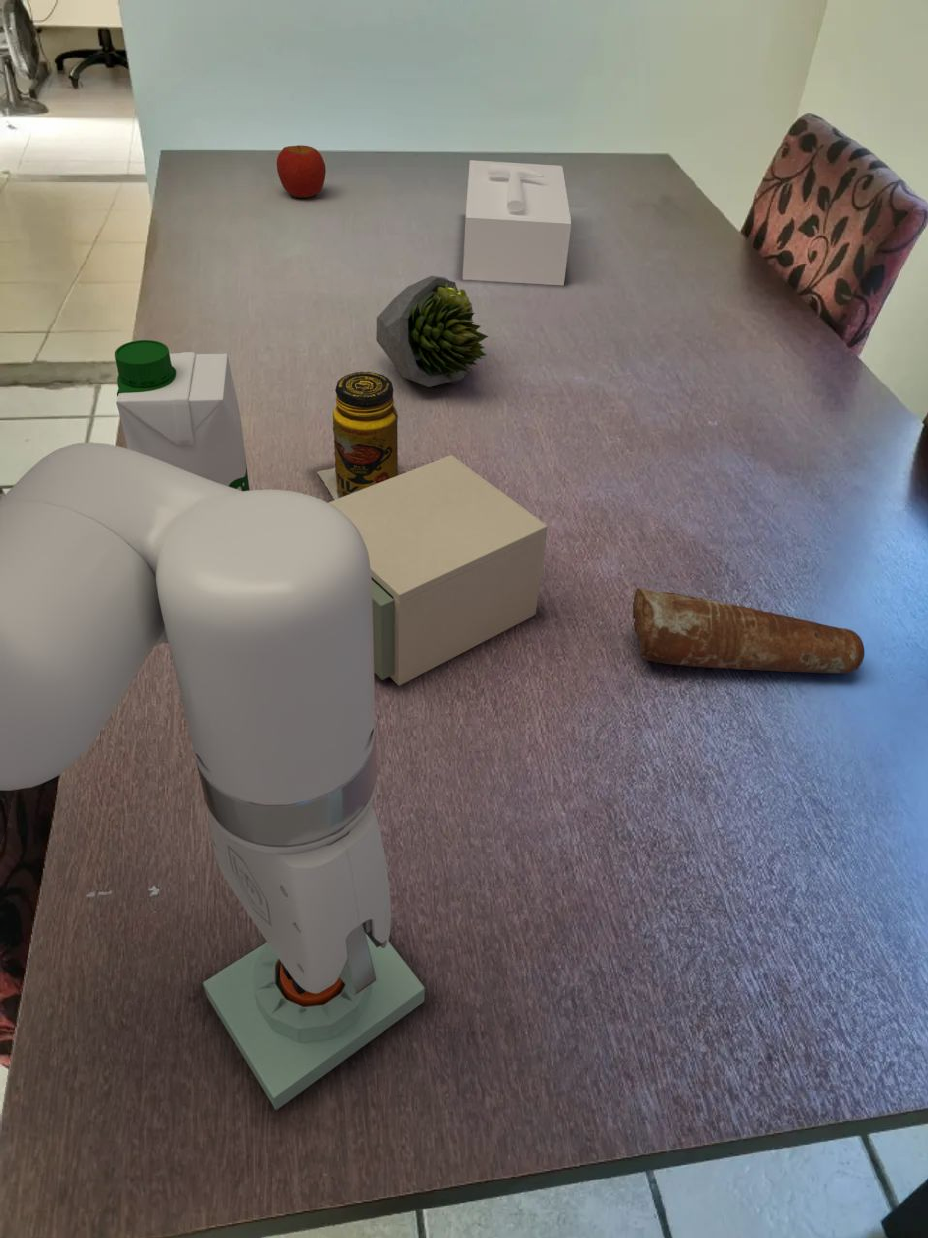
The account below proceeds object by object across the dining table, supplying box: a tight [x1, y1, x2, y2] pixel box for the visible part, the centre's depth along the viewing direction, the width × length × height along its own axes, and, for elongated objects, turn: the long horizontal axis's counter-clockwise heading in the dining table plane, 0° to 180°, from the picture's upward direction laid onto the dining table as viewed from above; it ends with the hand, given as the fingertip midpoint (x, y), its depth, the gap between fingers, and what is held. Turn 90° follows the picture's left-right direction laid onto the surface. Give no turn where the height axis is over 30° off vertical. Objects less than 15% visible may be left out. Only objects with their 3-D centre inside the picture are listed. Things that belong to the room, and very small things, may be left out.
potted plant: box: [376, 275, 490, 388], centre depth 108 cm, size 12×13×15 cm
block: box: [202, 934, 426, 1111], centre depth 54 cm, size 10×8×4 cm
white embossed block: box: [462, 159, 572, 287], centre depth 139 cm, size 14×25×11 cm, turn 178°
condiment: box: [316, 371, 399, 501], centre depth 90 cm, size 7×8×12 cm
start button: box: [280, 963, 345, 1007], centre depth 53 cm, size 4×4×2 cm
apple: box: [276, 144, 327, 199], centre depth 153 cm, size 8×8×8 cm
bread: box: [632, 587, 865, 674], centre depth 76 cm, size 6×19×6 cm, turn 84°
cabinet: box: [327, 454, 548, 687], centre depth 78 cm, size 15×13×10 cm
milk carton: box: [114, 339, 251, 491], centre depth 78 cm, size 9×9×20 cm
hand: (315, 968), depth 53 cm, fingers closed
